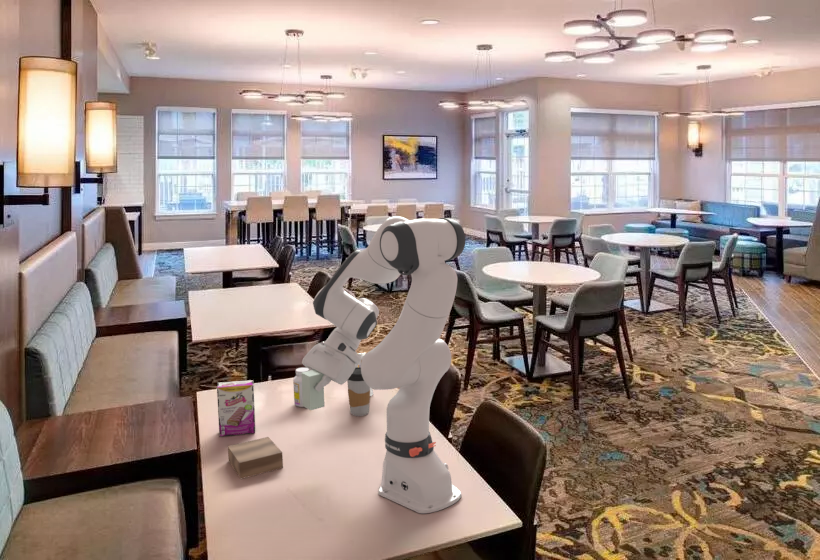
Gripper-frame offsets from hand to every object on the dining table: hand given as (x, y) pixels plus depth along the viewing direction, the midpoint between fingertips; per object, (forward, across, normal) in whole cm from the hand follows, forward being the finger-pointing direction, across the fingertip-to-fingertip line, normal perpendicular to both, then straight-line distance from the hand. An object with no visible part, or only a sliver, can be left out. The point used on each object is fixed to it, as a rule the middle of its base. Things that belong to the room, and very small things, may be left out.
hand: (310, 387), depth 181 cm
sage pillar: (+4, 0, +5) cm, 6 cm away
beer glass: (-13, -32, +43) cm, 55 cm away
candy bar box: (+22, -30, +8) cm, 38 cm away
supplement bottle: (+3, -38, +28) cm, 47 cm away
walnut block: (+26, -6, +4) cm, 27 cm away
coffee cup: (-5, -19, +35) cm, 41 cm away
